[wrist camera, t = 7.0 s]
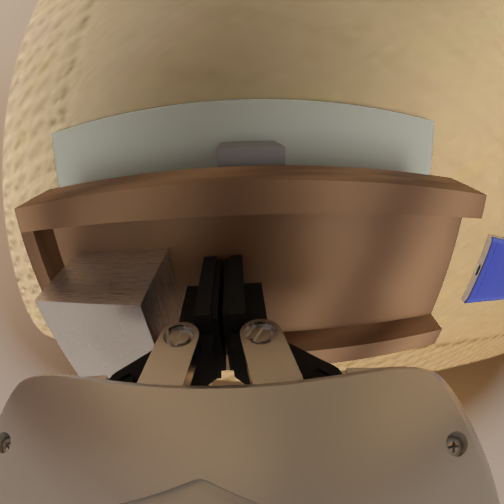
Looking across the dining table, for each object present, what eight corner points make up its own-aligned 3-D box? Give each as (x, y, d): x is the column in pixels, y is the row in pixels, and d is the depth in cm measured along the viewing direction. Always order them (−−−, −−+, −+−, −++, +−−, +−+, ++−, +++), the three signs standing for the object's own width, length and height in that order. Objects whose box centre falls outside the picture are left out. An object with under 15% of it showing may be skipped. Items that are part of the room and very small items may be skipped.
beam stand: (425, 120, 15) (469, 127, 11) (393, 302, 22) (417, 336, 18) (59, 131, 14) (17, 141, 10) (106, 317, 21) (87, 355, 17)
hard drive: (532, 247, 20) (494, 238, 19) (509, 299, 24) (466, 304, 22) (525, 242, 21) (485, 231, 20) (503, 293, 25) (458, 297, 24)
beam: (451, 178, 11) (486, 195, 9) (415, 313, 16) (434, 343, 13) (48, 189, 11) (14, 208, 9) (93, 325, 16) (76, 356, 13)
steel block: (78, 252, 11) (34, 300, 8) (168, 247, 11) (140, 305, 8) (107, 328, 14) (82, 381, 10) (188, 331, 14) (175, 393, 10)
